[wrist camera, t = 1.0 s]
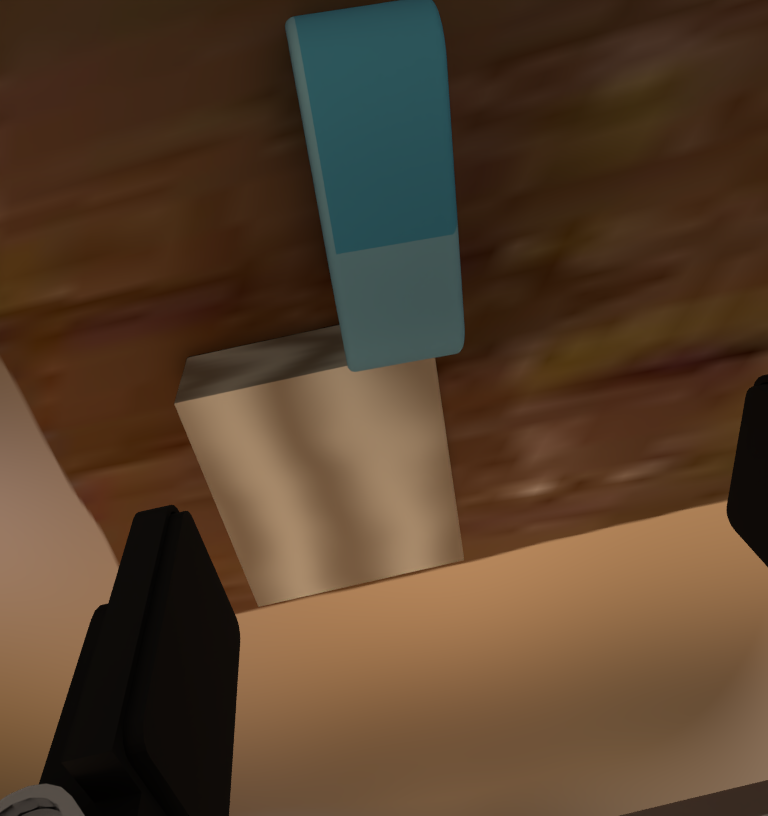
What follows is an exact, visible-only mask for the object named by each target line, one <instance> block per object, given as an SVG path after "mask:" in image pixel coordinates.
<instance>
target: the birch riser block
mask: <svg viewBox="0 0 768 816" xmlns="http://www.w3.org/2000/svg"><path fill="white" fill-rule="evenodd" d="M174 404H175V407H176V409H177V412H178V414H179V416H180V419H181V421H182V424H183V426H184V428H185V431H186V433H187V436H188V438H189V440H190V443H191V445H192V448H193V450H194V452H195V455H196V457H197V460H198V462H199V465H200V467H201V469H202V472H203V474H204V477H205V479H206V481H207V484H208V486H209V489H210V491H211V493H212V496H213V498H214V501H215V503H216V505H217V508H218V510H219V513H220V515H221V518H222V520H223V522H224V525H225V527H226V530H227V532H228V534H229V537H230V539H231V542H232V544H233V546H234V549H235V551H236V554H237V556H238V558H239V561H240V563H241V566H242V568H243V571H244V573H245V575H246V578H247V580H248V583H249V585H250V587H251V590H252V592H253V595H254V597H255V599H256V602H257V604H258V607H260V606H264V605H269V604H273V603H277V602H282V601H286V600H290V599H295V598H299V597H304V596H308V595H312V594H317V593H321V592H326V591H330V590H334V589H339V588H343V587H348V586H352V585H356V584H361V583H365V582H370V581H374V580H378V579H383V578H387V577H392V576H396V575H400V574H405V573H409V572H413V571H418V570H422V569H427V568H431V567H435V566H440V565H444V564H449V563H453V562H457V561H462V560H464V556H463V549H462V542H461V535H460V528H459V521H458V514H457V507H456V500H455V493H454V486H453V479H452V473H451V466H450V459H449V452H448V445H447V438H446V431H445V424H444V417H443V410H442V403H441V396H440V389H439V382H438V376H437V369H436V362H435V358H430V359H424V360H419V361H413V362H408V363H402V364H397V365H391V366H385V367H380V368H374V369H369V370H363V371H358V372H352V371H350V370H349V368H348V366H347V361H346V356H345V351H344V345H343V340H342V335H341V329H340V325H336V326H332V327H327V328H322V329H318V330H313V331H309V332H304V333H299V334H295V335H290V336H286V337H281V338H276V339H272V340H267V341H262V342H258V343H253V344H249V345H244V346H239V347H235V348H230V349H226V350H221V351H216V352H212V353H207V354H202V355H198V356H193V357H189V358H187V361H186V364H185V368H184V371H183V375H182V378H181V382H180V385H179V389H178V392H177V396H176V399H175V403H174Z"/></svg>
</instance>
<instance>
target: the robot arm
mask: <svg viewBox="0 0 768 816" xmlns="http://www.w3.org/2000/svg"><path fill="white" fill-rule="evenodd" d="M727 516H728V519H729V522H730V524H731V526H732V527H733V528H734V529H735V531H736V532H737V533H738V534H739V535H740V537H741V538H742V539H743V540H744V541H745V542H746V543H747V544H748V546H749V547H750V548H751V549H752V550H753V551H754V552H755V553H756V554H757V556H759V558H760V559H761V560H762V561H763V562H764V563H765V564H766V566H767V567H768V374H767V375H763V376H761V377H759V378H758V379H757V380H756V381H755V384H754V387H751V388H749V390H748V391H747V393H746V397H745V403H744V409H743V415H742V421H741V426H740V432H739V438H738V444H737V450H736V456H735V462H734V467H733V473H732V479H731V485H730V491H729V497H728V502H727ZM239 651H240V631H239V625H238V621H237V618H236V616H235V613H234V611H233V609H232V607H231V604H230V602H229V600H228V598H227V595H226V593H225V591H224V588H223V586H222V584H221V582H220V579H219V577H218V575H217V572H216V570H215V568H214V566H213V563H212V561H211V559H210V557H209V554H208V552H207V550H206V547H205V545H204V543H203V541H202V538H201V536H200V534H199V531H198V529H197V527H196V525H195V522H194V520H193V518H192V516H191V514H190V513H189V512H188V511H183V512H179V511H178V509H177V508H176V507H175V506H174V505H169V506H164V507H160V508H155V509H150V510H146V511H141V512H138V513H137V514H135V517H134V519H133V522H132V525H131V529H130V532H129V536H128V539H127V542H126V546H125V549H124V552H123V556H122V559H121V563H120V566H119V569H118V573H117V576H116V580H115V583H114V586H113V590H112V593H111V596H110V600H109V603H108V604H104V605H100V606H99V607H98V608H97V609H96V610H95V612H94V614H93V617H92V619H91V622H90V625H89V628H88V631H87V634H86V637H85V640H84V644H83V647H82V650H81V653H80V656H79V659H78V663H77V666H76V669H75V672H74V675H73V678H72V681H71V685H70V688H69V691H68V694H67V697H66V701H65V704H64V707H63V710H62V713H61V716H60V719H59V722H58V726H57V729H56V732H55V735H54V738H53V741H52V745H51V748H50V751H49V754H48V757H47V760H46V764H45V767H44V770H43V773H42V776H41V779H40V782H39V785H33V786H27V787H25V788H23V789H20V790H18V791H16V792H14V793H11V794H9V795H7V796H6V797H4V798H3V799H2V800H0V816H229V805H230V790H231V789H230V788H231V775H232V774H231V773H232V759H233V744H234V728H235V713H236V696H237V681H238V667H239ZM620 816H768V780H766V781H762V782H758V783H754V784H750V785H745V786H741V787H737V788H733V789H729V790H724V791H720V792H716V793H712V794H708V795H704V796H699V797H695V798H691V799H687V800H683V801H678V802H674V803H670V804H666V805H662V806H658V807H654V808H649V809H645V810H642V811H637V812H633V813H629V814H625V815H620Z"/></svg>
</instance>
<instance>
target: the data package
mask: <svg viewBox="0 0 768 816" xmlns="http://www.w3.org/2000/svg"><path fill="white" fill-rule="evenodd" d="M285 29H286V35H287V40H288V46H289V52H290V57H291V63H292V68H293V74H294V79H295V84H296V90H297V95H298V101H299V106H300V112H301V117H302V123H303V128H304V134H305V139H306V145H307V150H308V156H309V161H310V167H311V172H312V178H313V183H314V189H315V194H316V200H317V205H318V211H319V216H320V222H321V227H322V233H323V238H324V244H325V249H326V255H327V260H328V266H329V271H330V276H331V282H332V287H333V292H334V298H335V303H336V308H337V314H338V319H339V324H340V329H341V335H342V340H343V345H344V351H345V356H346V361H347V366H348V368H349V370H350V371H352V372H358V371H363V370H369V369H374V368H380V367H385V366H391V365H397V364H402V363H408V362H413V361H419V360H424V359H430V358H435V357H441V356H446V355H452V354H457V353H459V352H460V351H461V350H462V348H463V345H464V337H465V328H464V312H463V297H462V282H461V267H460V252H459V237H458V222H457V207H456V192H455V177H454V162H453V146H452V131H451V116H450V101H449V86H448V71H447V57H446V47H445V39H444V33H443V27H442V23H441V19H440V15H439V12H438V9H437V7H436V5H435V4H434V2H433V1H432V0H399V1H392V2H386V3H379V4H373V5H366V6H359V7H353V8H346V9H340V10H333V11H326V12H320V13H313V14H307V15H300V16H294V17H291V18H290V19H288V20H287V21H286V24H285Z"/></svg>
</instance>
